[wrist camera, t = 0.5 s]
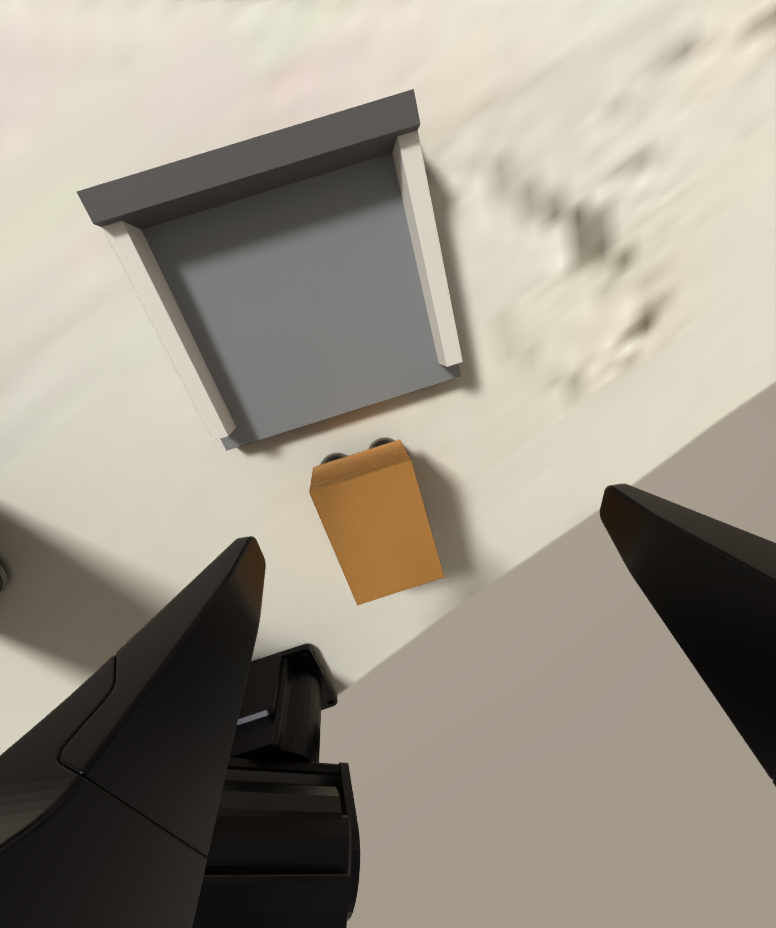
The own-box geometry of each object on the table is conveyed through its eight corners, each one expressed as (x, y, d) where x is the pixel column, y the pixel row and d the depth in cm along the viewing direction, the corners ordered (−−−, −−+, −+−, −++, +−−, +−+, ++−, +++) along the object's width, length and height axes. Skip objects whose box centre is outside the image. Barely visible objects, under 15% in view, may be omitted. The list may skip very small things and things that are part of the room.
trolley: (423, 526, 24) (444, 577, 19) (353, 549, 23) (357, 605, 19) (394, 428, 21) (411, 459, 16) (315, 453, 21) (309, 492, 16)
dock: (455, 373, 20) (473, 382, 17) (231, 444, 20) (214, 464, 17) (404, 128, 16) (419, 87, 13) (118, 215, 16) (71, 193, 13)
